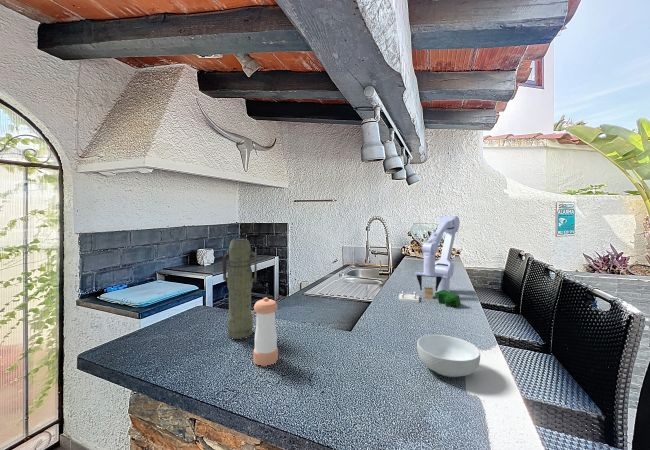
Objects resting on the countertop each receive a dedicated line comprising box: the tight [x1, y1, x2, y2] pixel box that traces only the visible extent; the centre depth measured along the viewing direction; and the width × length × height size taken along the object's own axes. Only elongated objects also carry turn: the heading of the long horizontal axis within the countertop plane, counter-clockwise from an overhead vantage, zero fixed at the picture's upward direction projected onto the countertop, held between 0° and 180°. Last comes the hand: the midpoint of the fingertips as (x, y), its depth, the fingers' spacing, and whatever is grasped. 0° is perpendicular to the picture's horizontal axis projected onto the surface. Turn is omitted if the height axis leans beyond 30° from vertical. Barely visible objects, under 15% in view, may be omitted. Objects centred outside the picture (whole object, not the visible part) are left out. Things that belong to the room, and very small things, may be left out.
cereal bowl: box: [416, 334, 481, 378], centre depth 85 cm, size 17×17×7 cm
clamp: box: [434, 290, 461, 308], centre depth 146 cm, size 12×6×9 cm, turn 11°
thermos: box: [222, 238, 258, 340], centre depth 108 cm, size 9×12×35 cm
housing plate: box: [398, 290, 420, 303], centre depth 155 cm, size 10×10×3 cm
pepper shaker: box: [252, 297, 279, 367], centre depth 89 cm, size 7×7×19 cm
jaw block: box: [424, 286, 434, 300], centre depth 158 cm, size 4×4×5 cm
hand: (428, 290), depth 158 cm, fingers open, 7 cm apart
